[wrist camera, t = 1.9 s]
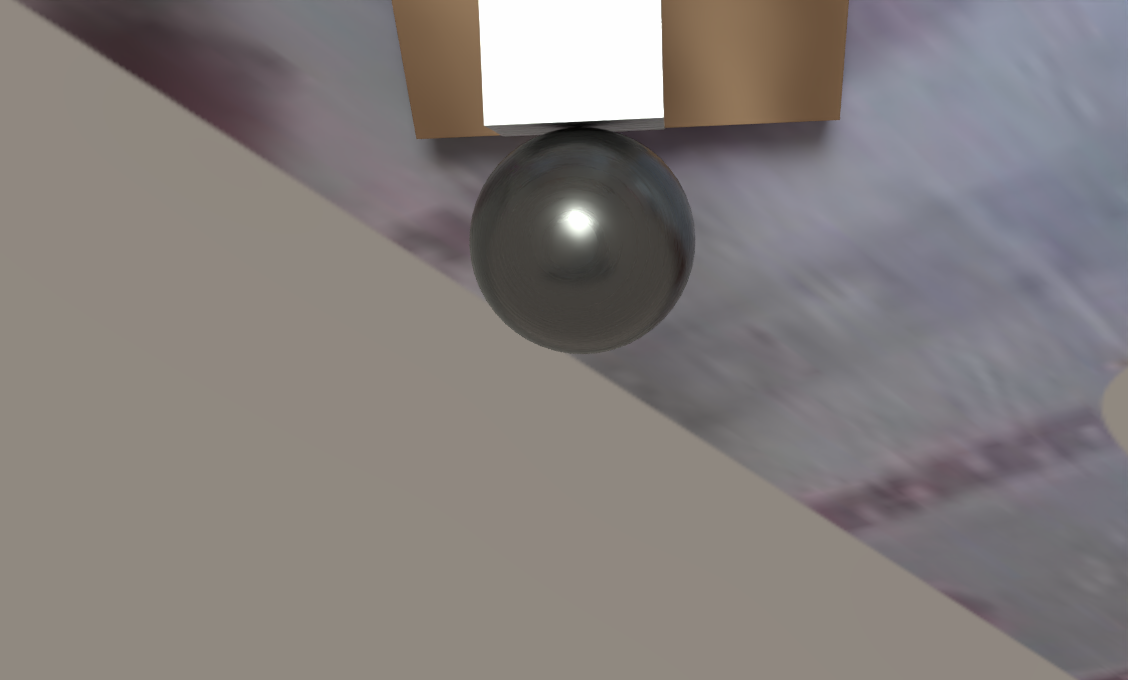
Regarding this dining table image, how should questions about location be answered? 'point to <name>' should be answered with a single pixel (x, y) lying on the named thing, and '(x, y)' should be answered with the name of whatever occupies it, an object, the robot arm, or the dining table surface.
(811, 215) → the dining table surface
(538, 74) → the lever
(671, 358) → the dining table surface
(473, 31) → the nutcracker bench
